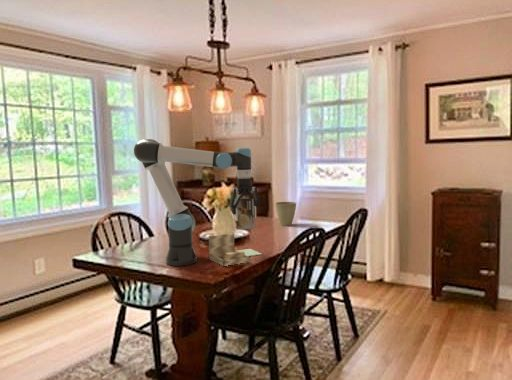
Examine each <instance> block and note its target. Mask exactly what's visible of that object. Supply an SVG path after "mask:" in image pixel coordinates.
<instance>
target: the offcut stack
mask: <svg viewBox="0 0 512 380" xmlns="http://www.w3.org/2000/svg"><path fill="white" fill-rule="evenodd" d="M242 257H245V252H243V251H238V250H235V252H229V253H225V257H223V258H221V259H223V260H230V259H236V258H242Z"/></svg>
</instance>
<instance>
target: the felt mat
mask: <svg viewBox="0 0 512 380" xmlns="http://www.w3.org/2000/svg"><path fill="white" fill-rule="evenodd" d="M237 251H243V252H245V255H246V256H251V257H256V255H257V256H261V255H262V253H261V252H259V251H256V250H255V249H252V248H246V249H239V250H237Z"/></svg>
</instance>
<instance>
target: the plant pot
mask: <svg viewBox="0 0 512 380" xmlns="http://www.w3.org/2000/svg"><path fill="white" fill-rule="evenodd" d="M275 208H276V213H277V214H276V215H277V217H278V221H279V224H280V226H282V227H283V226H284V227H289V226H292V224H293V222H294V218H295V215H296V209H297V202H296V201H295V202H294V201H277V202H275Z"/></svg>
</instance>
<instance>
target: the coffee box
mask: <svg viewBox="0 0 512 380" xmlns="http://www.w3.org/2000/svg"><path fill="white" fill-rule="evenodd" d="M235 199H236V198H235ZM236 200H237V199H236ZM236 208H237V210H238V221H236V230H254V229H255V219H254V201H253V198H249V197H241V199H240V201H239V203H238V205H237V207H236Z"/></svg>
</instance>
